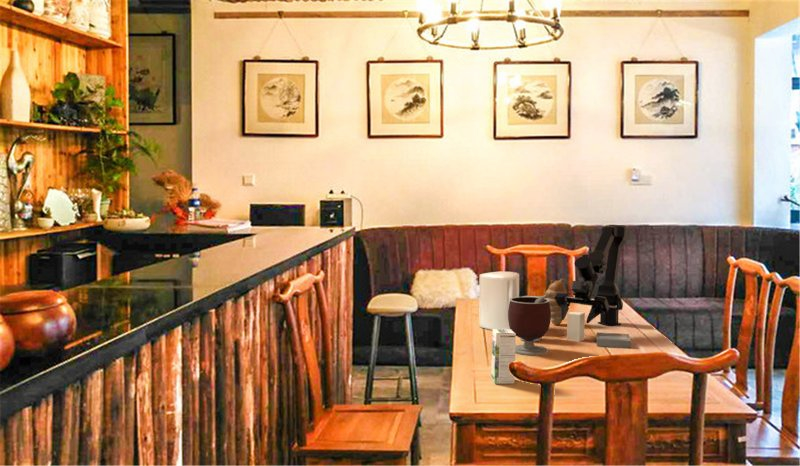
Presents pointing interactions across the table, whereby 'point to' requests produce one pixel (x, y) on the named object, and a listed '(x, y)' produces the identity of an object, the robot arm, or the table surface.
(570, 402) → the table surface
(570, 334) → the block
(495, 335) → the syrup box
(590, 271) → the robot arm
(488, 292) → the paper towel roll
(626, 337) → the plate
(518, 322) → the mate gourd
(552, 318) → the spiral seashell
